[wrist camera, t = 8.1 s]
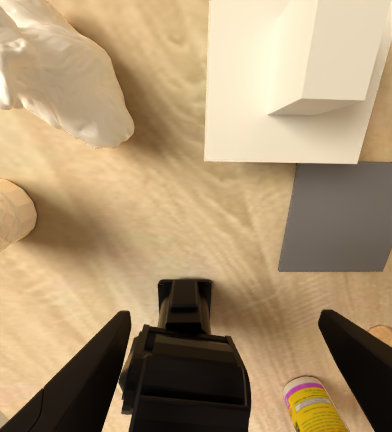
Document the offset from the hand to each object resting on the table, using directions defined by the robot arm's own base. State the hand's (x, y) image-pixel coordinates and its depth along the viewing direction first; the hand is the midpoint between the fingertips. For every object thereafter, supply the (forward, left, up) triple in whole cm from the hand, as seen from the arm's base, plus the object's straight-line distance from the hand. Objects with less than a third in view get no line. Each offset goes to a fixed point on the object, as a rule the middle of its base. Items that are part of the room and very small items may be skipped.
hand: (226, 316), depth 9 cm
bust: (+12, +11, -13) cm, 21 cm away
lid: (+12, -5, -8) cm, 15 cm away
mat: (0, -16, -13) cm, 20 cm away
